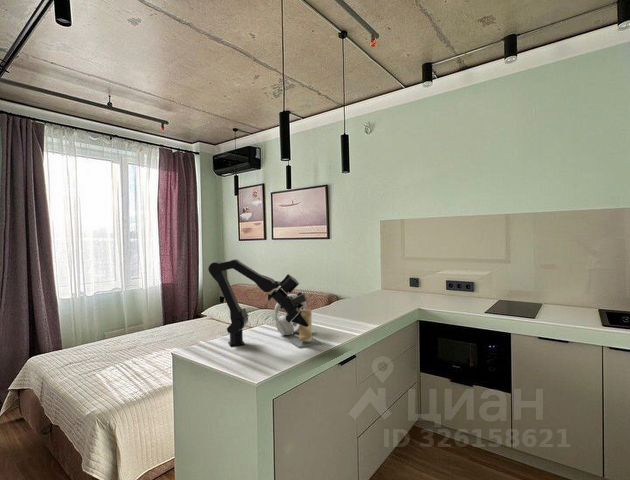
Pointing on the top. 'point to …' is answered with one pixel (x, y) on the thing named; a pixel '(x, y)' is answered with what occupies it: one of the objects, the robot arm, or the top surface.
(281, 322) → the headphones
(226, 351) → the top surface
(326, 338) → the top surface
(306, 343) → the rubber mat
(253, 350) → the top surface
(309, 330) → the oak block
